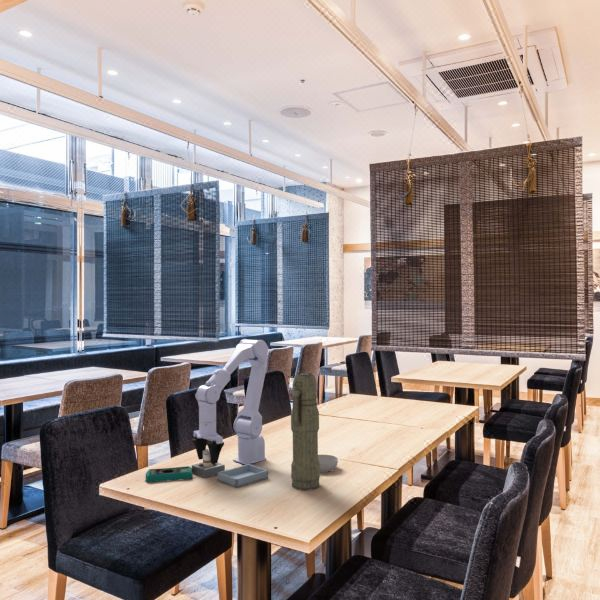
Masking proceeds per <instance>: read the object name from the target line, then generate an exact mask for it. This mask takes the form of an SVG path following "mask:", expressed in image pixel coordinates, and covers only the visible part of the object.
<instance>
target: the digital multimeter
mask: <svg viewBox="0 0 600 600" xmlns="http://www.w3.org/2000/svg"><path fill="white" fill-rule="evenodd" d="M179 479H184V480H192V479H193V473H192V466H190V465H188V466H178V467H177V466H176V467H166V468H165V467H164V468H162V467H161V468H151V469H148V470H147V471H146V472H145V481H146V482H147V483H155V482H156V483H157V481H158V482H167V480H170V481H180V480H179Z"/></svg>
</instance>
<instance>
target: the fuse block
mask: <svg viewBox="0 0 600 600" xmlns="http://www.w3.org/2000/svg"><path fill="white" fill-rule="evenodd" d="M191 468H192V474H195V475H197V476H200V477H202V478H205V479H206V478H209V477H213V476H218V475H217V473H218V472H221V471H225V470H226V467H225V464H222V463H220V462H218V463H216V464H213V467H209V468H204V467H203V462H200V463H195V464H192V465H191Z"/></svg>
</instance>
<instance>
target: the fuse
mask: <svg viewBox="0 0 600 600" xmlns="http://www.w3.org/2000/svg"><path fill="white" fill-rule="evenodd" d="M202 463H203V467H204V468H209V467H213V464H211V459H210V451H209V448H208V449H207V448H206V449H205V450H203V459H202Z"/></svg>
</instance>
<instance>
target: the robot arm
mask: <svg viewBox="0 0 600 600" xmlns="http://www.w3.org/2000/svg"><path fill="white" fill-rule="evenodd" d="M235 347H236V349H235V350H234V352H233V354H232V355H231V357H230V358H229V359H228V360H227V362H226V363H225V365H224V366H223V368H218V369H215V370H214V371H213V374H212V375H211V376H210V378H209V379H208V380H207V381H206V382H205V384H202V385H200V386H199V387H198V388H197V390H196V393H195V394H194V396H195V399H196V401H197V404H198V405H197V406H198V421H199V422H198V423H199V424H198V430H193V437H194V438H192V439H191V442H192V443H193V445H194V448H195V451H196V454H197V458H198V460H200V461H201V460H203V450H205V449H207V448H208V449H209V451H210V459H211V464H216V463H219V459H220V455H221V451H222V449H223V447H224V445H225V442H224V441H223V440H224V438H223V436H221V435H220V434H218V433H217V402H218V401H219V399H220V398H221V397H220V396H221V393H222V390H223V389H224V388H225V386H227V385H228V383H229V382H230V381H231V375H232V373H233V372H234V371H236V369H237V368H238V367H239V366H240V365H241V364H242V363H243V362H244V361H245V360H247V362H249V364H250V366H251V370H250V373H249V379H248V384H247V388H246V394H245V399H244V403H243V407H242V409H240V410H239V411H238V412H237V416H236V417H235V419H234V422H233V427H232V428H233V430H234V433H236V437H237V458H233V459H232V461H233V462H237V463H240V464H243V465H247V464H250V465H253V464H254V463H259V462H262V461H265V460H267V458H266V451H265V450H266V446H265V445H266V443H265V442H266V441H265V438H264V437H263V435H262V434H261V433H262V431H263V423H262V422H263V416H262V414H261V413H260V411H259V408H260V403H261V398H262V392H263V388H264V381H265V377H266V373H267V367H268V353H269V349H270V348H269V347H268V345H267V343H266V342H265V340H263V339H247V338H242V339H241V340H240V341H239V343H238V344H237V345H236V346H235ZM208 441H210V442H208Z"/></svg>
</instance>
